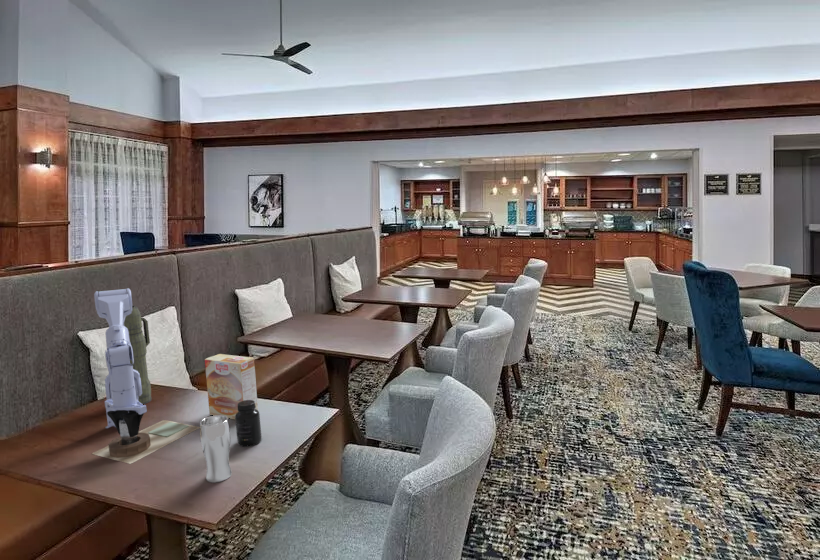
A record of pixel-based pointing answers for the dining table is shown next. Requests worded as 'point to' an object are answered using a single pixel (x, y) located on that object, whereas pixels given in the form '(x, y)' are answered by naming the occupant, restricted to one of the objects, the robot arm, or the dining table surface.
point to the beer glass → (216, 447)
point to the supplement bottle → (248, 424)
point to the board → (153, 442)
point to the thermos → (139, 350)
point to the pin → (125, 433)
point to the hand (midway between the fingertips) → (128, 434)
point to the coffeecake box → (229, 383)
